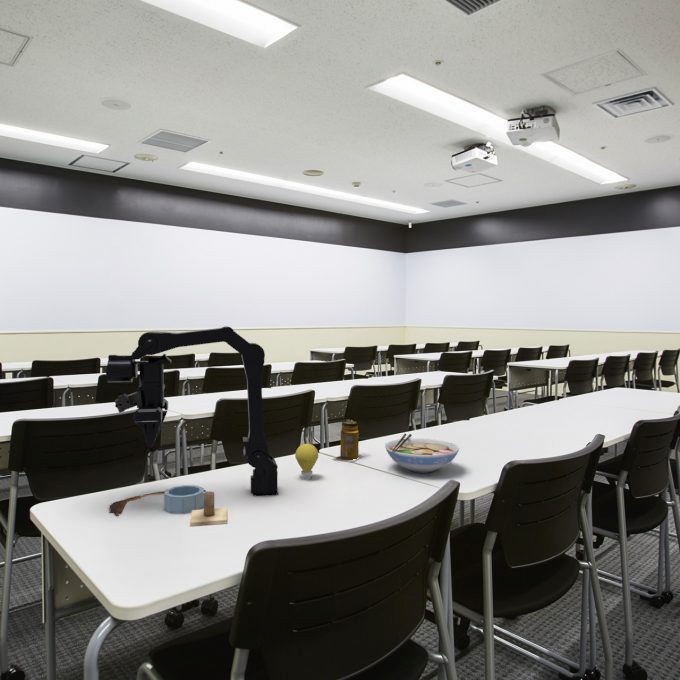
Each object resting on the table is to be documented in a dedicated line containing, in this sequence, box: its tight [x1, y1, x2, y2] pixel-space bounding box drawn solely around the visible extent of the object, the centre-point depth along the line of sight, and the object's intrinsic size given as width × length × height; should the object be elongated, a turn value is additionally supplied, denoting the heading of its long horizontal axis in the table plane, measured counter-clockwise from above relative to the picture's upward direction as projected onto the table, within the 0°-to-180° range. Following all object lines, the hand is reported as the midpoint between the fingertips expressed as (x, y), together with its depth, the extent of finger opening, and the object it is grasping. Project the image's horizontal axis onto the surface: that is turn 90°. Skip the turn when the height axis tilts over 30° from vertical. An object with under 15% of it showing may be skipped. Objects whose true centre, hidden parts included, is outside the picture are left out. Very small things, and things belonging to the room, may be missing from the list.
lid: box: [189, 491, 228, 527], centre depth 123 cm, size 8×8×6 cm
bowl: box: [163, 484, 205, 515], centre depth 131 cm, size 9×9×4 cm
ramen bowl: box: [384, 433, 460, 474], centre depth 167 cm, size 25×23×8 cm
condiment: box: [333, 420, 363, 463], centre depth 180 cm, size 7×8×12 cm
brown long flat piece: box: [108, 489, 207, 517], centre depth 137 cm, size 25×10×1 cm, turn 130°
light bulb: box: [294, 443, 319, 480], centre depth 157 cm, size 7×7×10 cm
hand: (152, 443), depth 136 cm, fingers open, 9 cm apart
